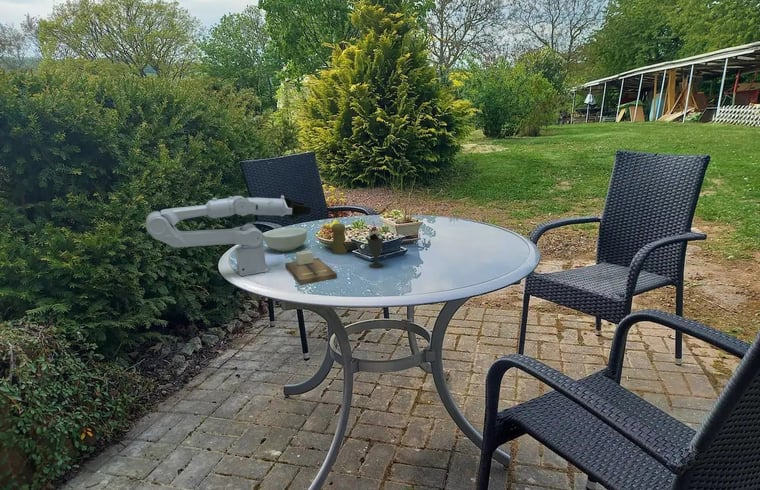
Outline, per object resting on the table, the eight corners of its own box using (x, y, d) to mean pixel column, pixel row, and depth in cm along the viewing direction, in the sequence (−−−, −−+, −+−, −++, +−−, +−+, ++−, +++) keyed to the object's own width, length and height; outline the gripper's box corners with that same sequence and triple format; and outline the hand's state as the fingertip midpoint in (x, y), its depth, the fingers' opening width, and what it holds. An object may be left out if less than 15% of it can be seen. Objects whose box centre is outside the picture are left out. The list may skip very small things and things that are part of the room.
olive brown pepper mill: (345, 254, 169) (343, 225, 166) (330, 253, 170) (328, 225, 167) (349, 249, 174) (347, 222, 172) (334, 249, 176) (332, 222, 173)
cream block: (299, 265, 152) (298, 254, 151) (296, 262, 155) (295, 252, 154) (313, 262, 154) (312, 252, 153) (310, 260, 157) (309, 249, 156)
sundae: (376, 261, 159) (374, 220, 154) (389, 265, 154) (388, 222, 150) (362, 266, 154) (360, 223, 150) (376, 270, 149) (374, 226, 145)
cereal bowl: (311, 242, 187) (309, 226, 185) (303, 254, 171) (301, 236, 169) (271, 243, 188) (269, 227, 186) (259, 255, 172) (257, 237, 170)
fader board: (300, 284, 139) (300, 279, 138) (285, 267, 156) (285, 262, 156) (337, 278, 143) (336, 273, 143) (318, 261, 161) (318, 257, 160)
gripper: (273, 198, 144) (314, 200, 150) (263, 191, 156) (301, 193, 163) (272, 220, 146) (312, 221, 152) (262, 211, 158) (300, 212, 164)
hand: (306, 208), depth 157 cm, fingers open, 7 cm apart
